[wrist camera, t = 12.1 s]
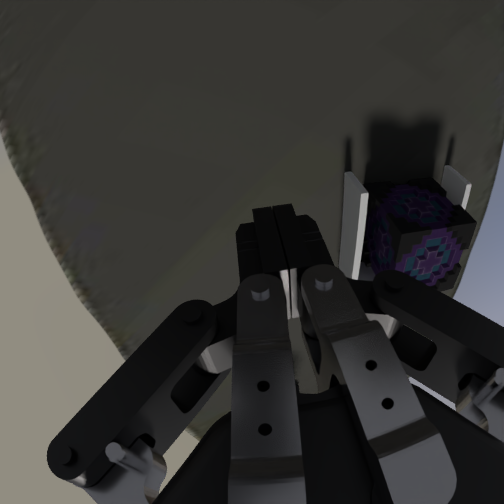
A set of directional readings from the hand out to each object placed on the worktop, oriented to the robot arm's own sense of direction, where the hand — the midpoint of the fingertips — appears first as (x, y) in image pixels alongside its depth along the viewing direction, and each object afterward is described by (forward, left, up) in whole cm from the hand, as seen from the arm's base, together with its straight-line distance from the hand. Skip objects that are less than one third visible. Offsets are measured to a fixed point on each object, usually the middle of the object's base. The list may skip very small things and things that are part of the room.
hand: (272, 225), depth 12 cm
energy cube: (+20, +22, -27) cm, 40 cm away
